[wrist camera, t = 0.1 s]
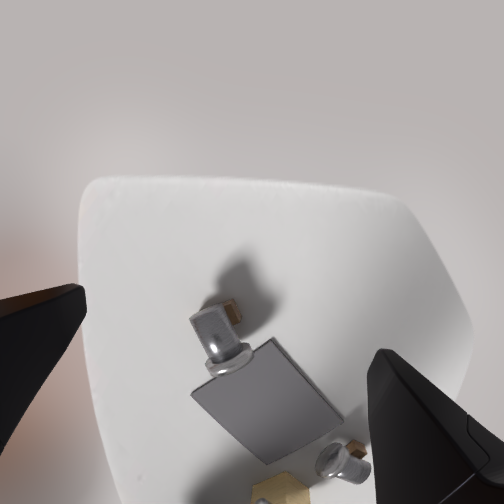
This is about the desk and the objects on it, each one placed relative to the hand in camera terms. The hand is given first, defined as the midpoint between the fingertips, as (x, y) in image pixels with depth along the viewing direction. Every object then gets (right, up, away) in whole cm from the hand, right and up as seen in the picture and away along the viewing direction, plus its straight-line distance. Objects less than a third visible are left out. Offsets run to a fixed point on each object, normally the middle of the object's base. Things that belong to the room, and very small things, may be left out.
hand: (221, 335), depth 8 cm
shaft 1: (-1, -4, +16) cm, 16 cm away
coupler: (+4, -23, +18) cm, 30 cm away
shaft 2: (+10, -17, +17) cm, 26 cm away
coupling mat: (+2, -12, +17) cm, 20 cm away
